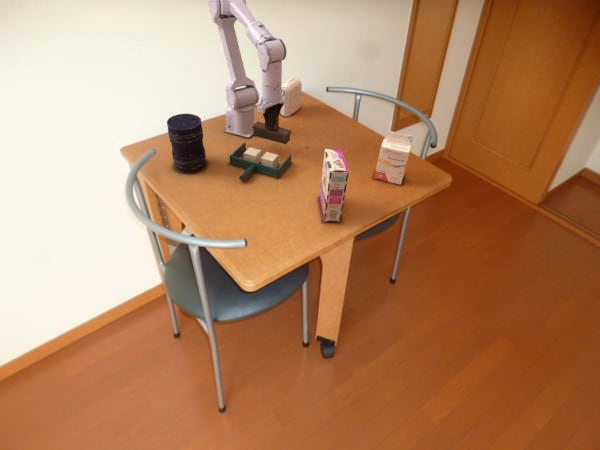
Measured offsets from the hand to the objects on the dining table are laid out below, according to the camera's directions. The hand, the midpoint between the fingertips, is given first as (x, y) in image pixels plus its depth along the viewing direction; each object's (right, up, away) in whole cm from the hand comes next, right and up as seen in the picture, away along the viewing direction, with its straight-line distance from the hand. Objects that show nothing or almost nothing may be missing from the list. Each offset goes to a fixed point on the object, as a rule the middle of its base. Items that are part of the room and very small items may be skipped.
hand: (271, 125), depth 132 cm
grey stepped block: (0, -3, +3) cm, 4 cm away
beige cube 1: (-6, -12, +1) cm, 13 cm away
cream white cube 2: (-1, -13, 0) cm, 13 cm away
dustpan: (-5, -14, -2) cm, 15 cm away
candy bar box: (+17, -27, -15) cm, 36 cm away
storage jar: (-25, -13, -1) cm, 28 cm away
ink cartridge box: (+37, -17, -2) cm, 40 cm away
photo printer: (+5, +12, +30) cm, 33 cm away
